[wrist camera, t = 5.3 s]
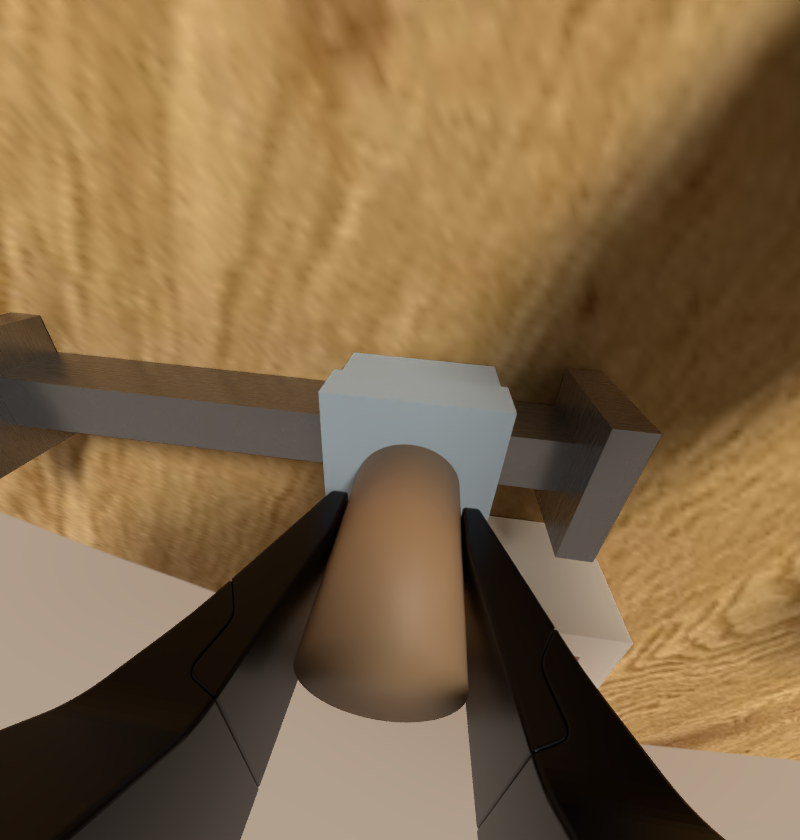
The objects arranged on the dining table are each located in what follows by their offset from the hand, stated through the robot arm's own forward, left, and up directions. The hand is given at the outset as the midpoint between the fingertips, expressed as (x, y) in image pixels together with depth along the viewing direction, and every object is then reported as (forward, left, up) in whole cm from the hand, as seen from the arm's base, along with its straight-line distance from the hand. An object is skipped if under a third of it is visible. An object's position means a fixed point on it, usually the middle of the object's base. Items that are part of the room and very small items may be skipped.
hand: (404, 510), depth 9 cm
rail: (+5, 0, -5) cm, 7 cm away
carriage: (0, 0, -5) cm, 5 cm away
